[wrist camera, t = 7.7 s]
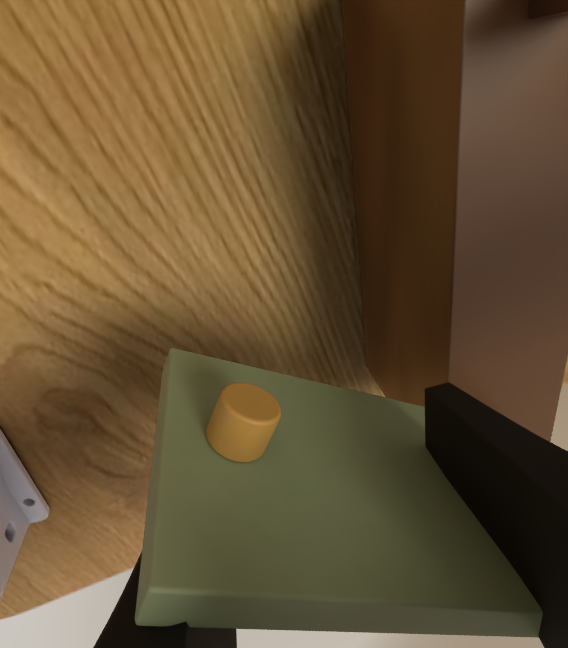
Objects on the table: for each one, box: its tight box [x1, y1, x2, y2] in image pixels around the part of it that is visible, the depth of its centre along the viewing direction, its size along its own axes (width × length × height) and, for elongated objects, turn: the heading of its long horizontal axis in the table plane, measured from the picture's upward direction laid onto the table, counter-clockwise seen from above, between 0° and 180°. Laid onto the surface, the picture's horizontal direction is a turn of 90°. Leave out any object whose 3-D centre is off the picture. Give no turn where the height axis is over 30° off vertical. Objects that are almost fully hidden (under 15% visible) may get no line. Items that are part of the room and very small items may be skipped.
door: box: [135, 348, 543, 637], centre depth 10 cm, size 12×2×6 cm, turn 68°
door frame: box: [341, 0, 568, 442], centre depth 12 cm, size 16×4×15 cm, turn 9°
